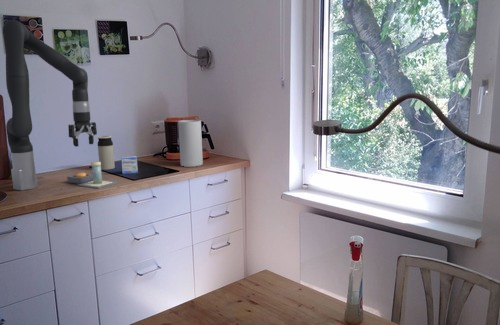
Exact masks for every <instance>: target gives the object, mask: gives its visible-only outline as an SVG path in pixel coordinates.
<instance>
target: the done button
mask: <svg viewBox="0 0 500 325" xmlns="http://www.w3.org/2000/svg"><path fill="white" fill-rule="evenodd" d="M86 174H87V172H77V173H75V174H74V175H75V176H76V177H84V176H86Z"/></svg>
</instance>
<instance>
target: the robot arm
mask: <svg viewBox="0 0 500 325" xmlns="http://www.w3.org/2000/svg"><path fill="white" fill-rule="evenodd" d="M2 36H3V37H2V38H3V43H4V49H5V80H6V82H5V84H6V91H7V95H8V97H9V100H10V103H11V111H12V112H11V117H10V118H8V120H7V121H6V125H5V127H6V128H5V129H6V131H5V132H6V137H7V142H8V147H9V149H10V154H11V155H10V157H11V163H12V168H11V169H10V172H11V179H12V186H13V190H17V191H25V190H26V191H27V190H32V189H35V188H37V187H38V182H37V181H38V180H37V173H36V172H37V171H36V164H35V163H36V162H35V155H34V148H33V143H32V142H31V140H30V135H31V134H32V130H33V121H32V116H31V115H32V114H31V109H30V108H31V107H30V75H29V74H30V73H29V68H28V65H27V61H26V57H25V49H24V48H26V49H28V50H30V51H31V52H33V53H35V55H36V56H38V57H39V58H40V59H42V60H43V61H44V62H45V63H47V64H48V65H49V66H51V67H53V69H55V70H57V71H59V72H60V73H61V74H63V75H64V76H65V77H66V78H68V79H69V80H71V81H72V91H71V96H72V114H73V115H72V119H73V122H74V123H73V124H68V138H70V139H72V143H73V146H74V147H79V136H80V135H81V134H83V133H86V134H87V135H88V145H94V143H95V141H94V136H95V135H97V134H98V130H97V123H96V122H94V121H93V122H92V121H91V108H90V100H89V92H88V91H89V90H88V85H89V80H88V79H89V78H88V72H87V71H86V69H85V68H82V67H80V66H78V65H76V64H75V63H73V62H72V61H70V59H69V58H68V57H67V56H65V55H64V54H62V53H60V52H59V51H58V50H56V49H54V48H53V47H51V46H49V45H48V44H47V43H45V42H44V41H42V40H41V39H39V38H38V37H37V36H36V35H35V34H34V33H33V32H32V31H31V30H29V29H28V27H26V25H25V24H23V23H22V22H20V21H18V20H16V19H15V20H14V19H10V20H7V21H6V22H5V23H4V24H3V26H2ZM90 121H91V122H90Z"/></svg>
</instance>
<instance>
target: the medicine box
mask: <svg viewBox="0 0 500 325" xmlns="http://www.w3.org/2000/svg"><path fill="white" fill-rule="evenodd" d="M120 158H121V160H120V161H121V171H122V173H121V174H122V175H127V174H128V175H129V174H131V175H132V174H139V171H138V157H137V155H134V156H122V157H120Z"/></svg>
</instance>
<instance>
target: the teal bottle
mask: <svg viewBox="0 0 500 325" xmlns="http://www.w3.org/2000/svg"><path fill="white" fill-rule="evenodd" d="M91 171H92V172H91V174H93V184H101V183H102V180H103V176H102V170H101V162H99V161H93V162H92V161H91Z"/></svg>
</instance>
